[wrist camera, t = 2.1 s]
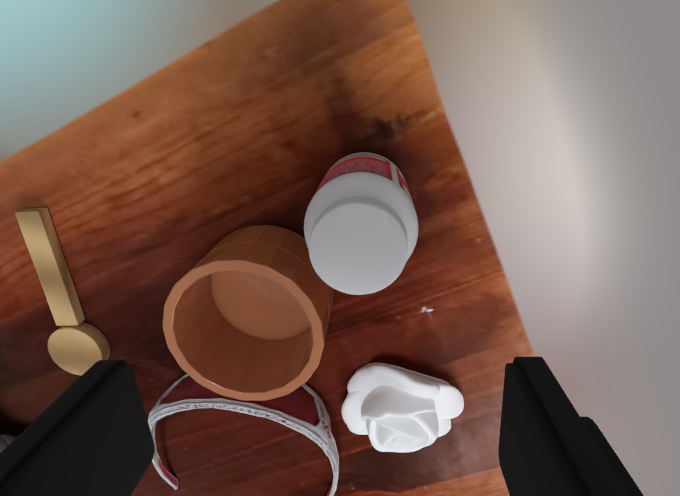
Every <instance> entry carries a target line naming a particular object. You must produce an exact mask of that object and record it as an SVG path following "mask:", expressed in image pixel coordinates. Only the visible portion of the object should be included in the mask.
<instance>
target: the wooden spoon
mask: <svg viewBox="0 0 680 496" xmlns="http://www.w3.org/2000/svg"><path fill="white" fill-rule="evenodd" d="M15 215H16V218H17V221H18V223H19V226H20V229H21V231H22V234H23V237H24V239H25V242H26V245H27V248H28V250H29V253H30V256H31V258H32V261H33V264H34V266H35V269H36V272H37V274H38V277H39V280H40V283H41V285H42V288H43V291H44V293H45V296H46V299H47V301H48V304H49V307H50V310H51V312H52V315H53V318H54V320H55V323H56V326H61V327H60V328H59V329H57V330H56V331H55V332H54V333H52V334H51V336H50V338H49V340H48V351H49V354H50V356H51V357H52V359H53V360H54V362H55V363H56V364H57V365H58V366H59V367H61V368H62V369H64V370H65V371H67V372H69V373H72V374H75V375H83V374H84V373H85V372H86V371H87V370H88V369H89V368H90V367H91V366H92V365H94V364H95V363H96V362H97V361H99V360H108V358H109V355H110V346H109V343H108V341H107V339H106V337H105V336H104V335H103V333H102V332H101V331H100V330H98V329H97V328H96V327H94V326H92V325H90V324H88V323H85V322H83V321H84V320H85V316H84V314H83V311H82V308H81V305H80V302H79V299H78V296H77V293H76V290H75V287H74V284H73V281H72V278H71V275H70V272H69V269H68V267H67V264H66V261H65V258H64V255H63V252H62V249H61V246H60V243H59V240H58V237H57V234H56V231H55V228H54V225H53V222H52V220H51V217H50V214H49V211H48V208H47V207H44V208H28V209H22V210H19V211H16V212H15Z"/></svg>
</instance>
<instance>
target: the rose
mask: <svg viewBox="0 0 680 496" xmlns="http://www.w3.org/2000/svg"><path fill="white" fill-rule="evenodd" d="M347 390H348V395H347V397H346V398H345V400H344V403H343V405H342V417H343V420H344V421H345V423H346V424H347V426H348V428H349V430H350V431H351V432H353V433H355V434H360V435H369V438H370V441H371V444H372V446H373V447H374V448H375V449H376V450H378V451H381V452H414V451H417V450H419V449H421V448H423V447H426V446H429V445H431V444H432V443H433V442H434V441H435V440H436V438H437V437H440V436H443V435H445V434H446V433H448V432H449V430H450V428H451V421H450V419H453V418H455V417H457V416H458V415H460V414H461V412H462V411H463V408H464V400H463V396H462V394H461V393H460V391H459V390H458V389H456V388H455V387H453V386H451V385H450V384H449V383H448V382H446V381H444V380H441V379H438V378H435V377H432V376H428V375H425V374H421V373H418V372H415V371H412V370H408V369H405V368H402V367H399V366H395V365H392V364H385V363H369V364H367V365H365V366H363V367H361V368H359V369H357V370H356V372H355V373H354V375H353V376H352V377H351V379H350V380H349V382H348V385H347Z"/></svg>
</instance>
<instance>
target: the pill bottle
mask: <svg viewBox="0 0 680 496" xmlns="http://www.w3.org/2000/svg"><path fill="white" fill-rule="evenodd" d="M304 235H305V240H306V244H307V247H308V249H309V257H310V260H311V263H312V266H313V268H314V270H315V271H316V273H317V274H318V276H319V277H320V278H321V279H322V280H323V281H324V282H325V283H326V284H328V285H329V286H331V287H332V288H334V289H336V290H338V291H341V292H344V293H348V294H354V295H364V294H370V293H374V292H377V291H380V290H382V289H384V288H386V287H387V286H389V285H390V284H391V283H393V282H394V281H395V280H396V279H397V277H398V276H399V275H400V273H401V272H402V270H403V268H404V266H405V263H406V261H407V260H408V259H409V257H410V256H411V254H412V252H413V250H414V248H415V245H416V242H417V237H418V220H417V213H416V210H415V207H414V205H413V202H412V199H411V196H410V193H409V190H408V186H407V183H406V181H405V178H404V176H403V174H402V173H401V171H400V170H399V169H398V168H397V167H396V166H395V165H394V164H393V163H392V162H391V161H390V160H388V159H387V158H385V157H383V156H380V155H377V154H374V153H367V152H361V153H355V154H351V155H348V156H346V157H344V158H342V159H340V160H339V161H337V162H336V163H335V164H334V165H333V166H332V167H331V168H330V169H329V170H328V172H327V173H326V175H325V177H324V178H323V180H322V182H321V184H320V185H319V187H318V189H317V191H316V193H315V194H314V196H313V198H312V200H311V202H310V204H309V206H308V208H307V211H306V215H305V220H304Z"/></svg>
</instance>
